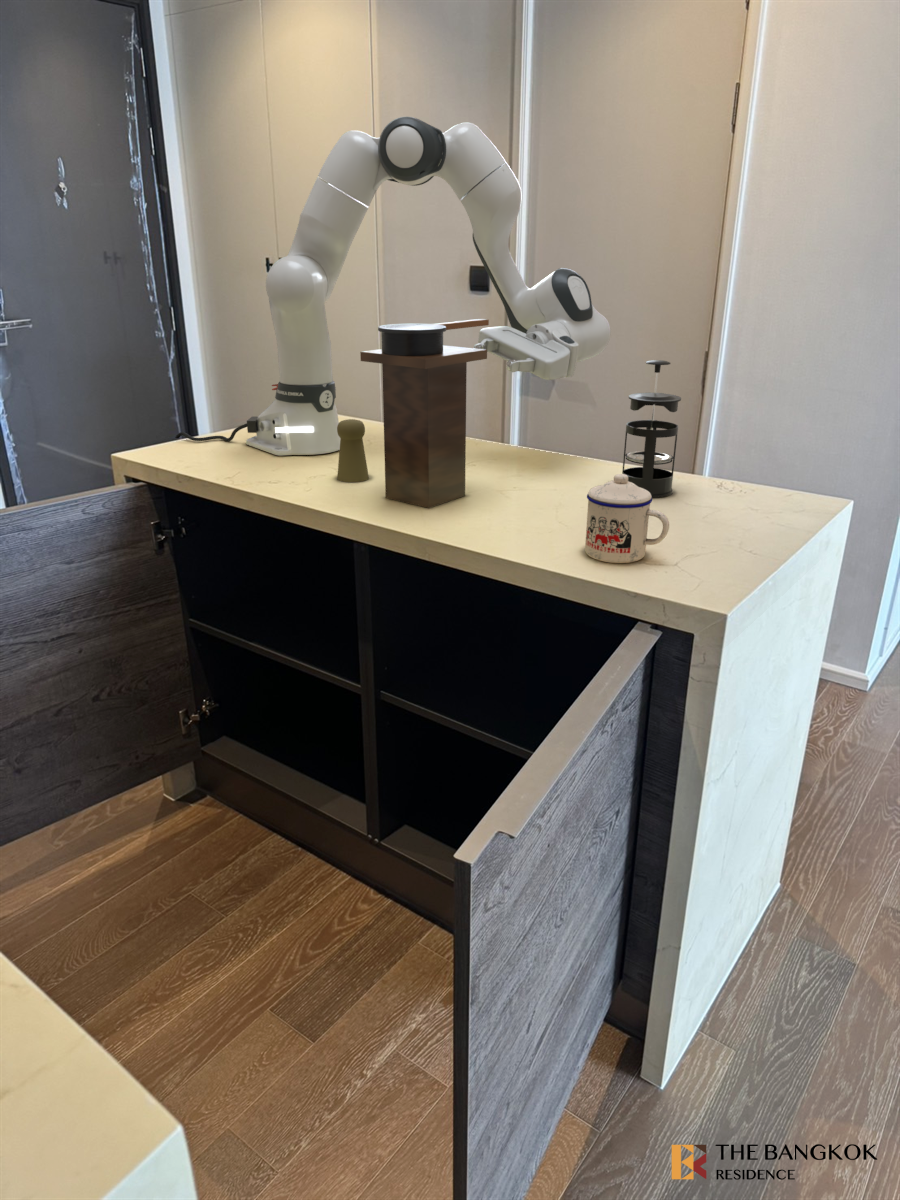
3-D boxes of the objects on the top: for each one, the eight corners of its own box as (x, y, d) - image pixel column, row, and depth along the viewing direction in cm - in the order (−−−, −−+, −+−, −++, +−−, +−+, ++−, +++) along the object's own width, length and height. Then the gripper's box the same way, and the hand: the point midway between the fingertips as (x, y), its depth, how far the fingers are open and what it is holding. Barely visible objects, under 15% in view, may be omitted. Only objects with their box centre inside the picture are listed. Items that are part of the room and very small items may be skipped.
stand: (365, 499, 151) (360, 351, 141) (424, 481, 162) (423, 343, 152) (426, 514, 142) (425, 358, 133) (484, 494, 154) (487, 349, 144)
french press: (673, 500, 151) (687, 365, 142) (618, 497, 152) (629, 363, 144) (671, 483, 161) (685, 356, 152) (620, 480, 163) (631, 355, 154)
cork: (367, 482, 161) (365, 423, 157) (335, 482, 161) (332, 423, 157) (370, 474, 167) (368, 417, 163) (339, 474, 167) (336, 417, 163)
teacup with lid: (573, 557, 124) (578, 477, 119) (597, 539, 131) (602, 464, 126) (654, 572, 118) (662, 490, 113) (674, 553, 125) (683, 475, 121)
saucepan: (364, 352, 140) (363, 326, 138) (460, 340, 158) (460, 317, 156) (415, 358, 133) (415, 331, 132) (509, 344, 151) (510, 320, 150)
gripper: (511, 314, 173) (458, 324, 165) (584, 347, 161) (531, 359, 153) (507, 345, 176) (455, 356, 169) (579, 379, 164) (526, 393, 157)
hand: (492, 358), depth 161 cm, fingers open, 8 cm apart
